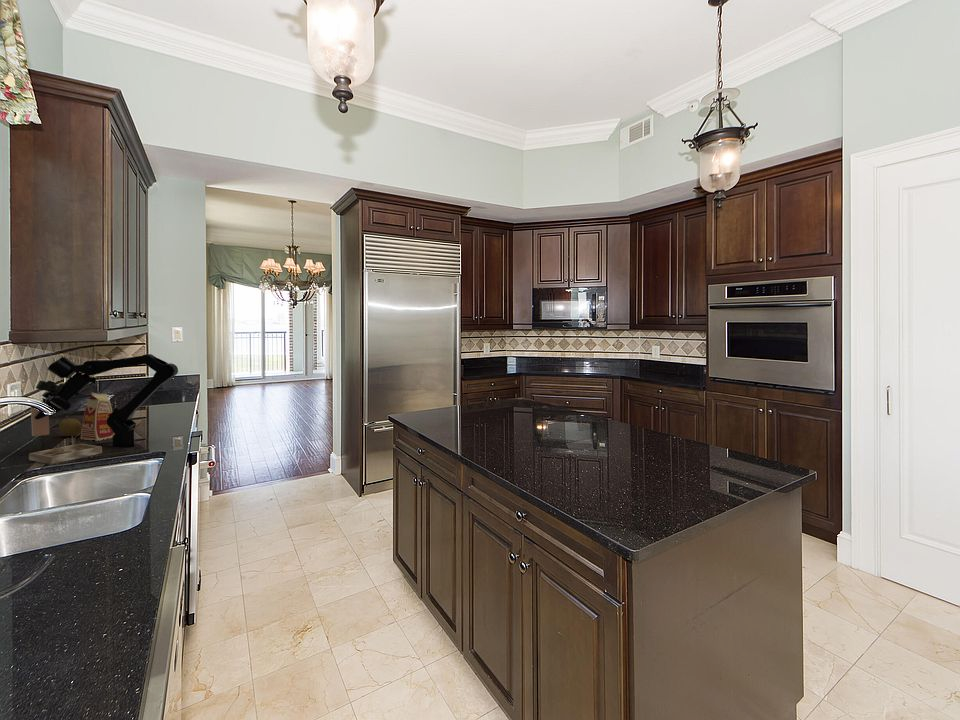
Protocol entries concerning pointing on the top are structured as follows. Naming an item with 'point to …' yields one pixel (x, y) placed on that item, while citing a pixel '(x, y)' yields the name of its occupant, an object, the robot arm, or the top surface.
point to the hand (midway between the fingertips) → (35, 418)
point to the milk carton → (97, 418)
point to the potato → (70, 427)
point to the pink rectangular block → (39, 424)
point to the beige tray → (65, 453)
